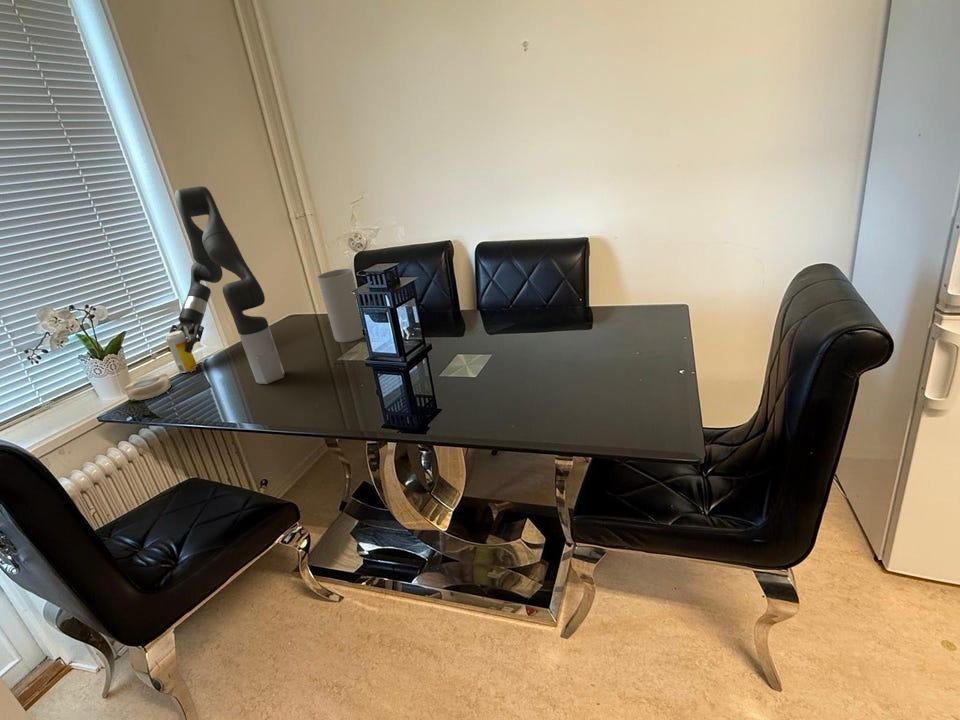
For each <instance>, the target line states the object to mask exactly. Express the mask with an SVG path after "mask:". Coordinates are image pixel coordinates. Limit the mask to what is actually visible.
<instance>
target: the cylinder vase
mask: <svg viewBox="0 0 960 720" xmlns="http://www.w3.org/2000/svg"><path fill="white" fill-rule="evenodd" d="M316 279H317V282H318V284H319V285H318V286H319V289H320V292H321V296H322V299H323V302H324V306H325V309H326V310H325V311H326V313H327V316H328V320H329V322H330V328H331V330H332V334H333V337H334V341H335V342H337V343H341V344H342V343H344V344H345V343H352V342H355V341H358V340H361V339H362V338H364V337H365V336H364V335H363V331H362V326H361V319H360V314H359V311H358V307H357V302H356V296H355V294H353V293H351V292H352V291H354V290H355V289H357V285H356V280H355V278H354V273H353V271H352V268H341V269H335V270H330V271H326V272H324V273H322V274H319V275H317V276H316Z"/></svg>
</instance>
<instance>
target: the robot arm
mask: <svg viewBox="0 0 960 720" xmlns="http://www.w3.org/2000/svg"><path fill="white" fill-rule="evenodd" d="M210 191H211V190H209V189H208V188H207V187H205V186H201V185H200V186H191V187H184V188H178V189H176V190H175V193H174V199H175V200H174V201H175V203H176V207H177V210H178V213H179V216H180V219H181V222H182V224H183V226H184V229H185V232H186V235H187V238H188V240H189V244H190V249H191V253H192V258H193V260H194V263H192V265H191V268H190V286H189V291H188V293H187V296H186V298H185V300H184V303H183V304H182V308H181V311H180V314H179V315H178V318H177V319H178V321H179V324H178V325H176V324H172V325H171V328H170V330H169V333H171V332H175V331H182V332H183V333H184V334H185V337H186V338H187V345H186V348H185V352H187V353H191V352H193V349H194V347H195V344H196V343H200V342H201V339H202V336H203V332H204V330H205V329H204V328H205V327H204V326H203V325H202V323H203V319H204V318H205V317H204V316H205V315H206V310H207V306H208V302H209V300H210V296H211V293H212V291H211V288H209V287H208V286H206V285H204V284H202V283H201V281H202V282H207V283H213V284H216V283H219V282H221V280H222V278H223V269H225V270H226V271H229V272H230V273H233V274H234V275H236V276H237V277H238V278H239V280H237V281H231V282H228V283H225V284H224V285H223V286H222V294H223V297H224V300H225V302H226V305H227V308H228V309H229V311H230V314H231V316H232V319H233V321H234V324H235V327H236V330H237V333H238V336H239V338H240V341H241V344H242V346H243V350H244V353H245V355H246V359H247V360H248V361H247V362H248V364H249V366H250V369H251V371H252V374H253V377H254V380H255V382H256V383H257V384H260V385H261V384H263V385H268V384H270V383H273V382H275V381H278V380H280V379H284V377H285V371H284V367H283V364H282V361H281V358H280V355H279V353H278V350H277V346H276V344H275V340H274V337H273V335H272V331H271V329H270V325H269V322H268V320H267V318H266V317H264V316H252V315H247V314H244V311H247V310H251V309H254V308H257V307H261V306H262V305H264V303H265V300H266V299H265V293H264V291H263V289H262V286H261V285H260V283H259V282H258V280H257V278H256V276H255V275H254V273H253V272H252V271H251V269H250V268H249V266H248V264H247V262H246V260H245V259H244V258H243V254H242V252H241V250H240V249H239V246H238V244H237V243H236V241H235V239H234V237H233V235H232V233H231V232H230V230H229V228H228V227H227V224H226V223H225V221H224V219H223V217H222V215H221V213H220V211H219V208H218V206H217V203H216V201H215V199H214V197H213V194H212V193H211V192H210ZM199 216H208V219H207V223H206V226H205V228H204V229H203V230H202V229H201V228H200V227H199V226H198V224H196V223H195V222H194V220H193V219H192V218H195V217H199ZM169 333H168V334H169ZM167 352H169V353H171V350H170V348H169V347H168V349H167Z"/></svg>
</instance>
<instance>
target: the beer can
mask: <svg viewBox="0 0 960 720" xmlns="http://www.w3.org/2000/svg"><path fill="white" fill-rule="evenodd" d="M165 341H166V342H167V345H168V348H170V350H171V352H170V353H171V355H172V357H173V359H174V362H175V364H176V367H177V369H178V371H179V373H180V374H182V373H185V372H188V371H191V370H193V369H195V368H196V367H197V368H198V365H197V364H198V363H197V362H196V360H195V357H194V354H193V351H191V353H187V352H185V348H186V345H187V342H188V338H187V337H185V334H184V333H183V332H182V331H175V332H171V333H167V334H166V335H165Z"/></svg>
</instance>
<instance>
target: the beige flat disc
mask: <svg viewBox="0 0 960 720" xmlns="http://www.w3.org/2000/svg"><path fill="white" fill-rule="evenodd" d="M171 382H172V381H171V380H170V378H169V376H168V374H166V373H156V374H150V375H147V376H144V377H141V378H139V379H136V380H134V381H132V382H130V383H129V384H128V385H126V386H125V387H124V390H125V393H126V395H127V397H128V399H129V401H130V400H133V399H135V400H143V399H148V398H152V397H155V396H157V395H159V394H162V393H164V392H165V391H167V390H168V389H169V388H170V387H171V385H172V386H173V384H172V383H171ZM167 392H168V391H167ZM164 394H165V393H164ZM162 395H163V394H162ZM157 397H158V396H157ZM155 398H156V397H155ZM152 399H153V398H152Z"/></svg>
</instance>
